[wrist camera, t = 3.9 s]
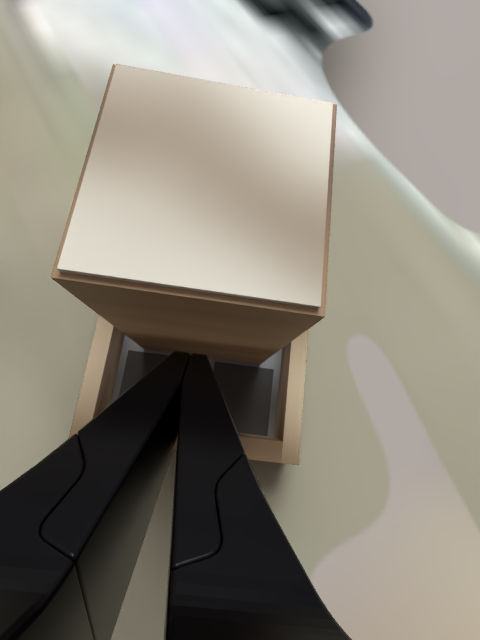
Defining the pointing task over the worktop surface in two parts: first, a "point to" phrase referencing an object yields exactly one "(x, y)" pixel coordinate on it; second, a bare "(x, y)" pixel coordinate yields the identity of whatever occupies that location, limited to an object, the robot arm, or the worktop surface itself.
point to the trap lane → (234, 381)
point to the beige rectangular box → (203, 215)
